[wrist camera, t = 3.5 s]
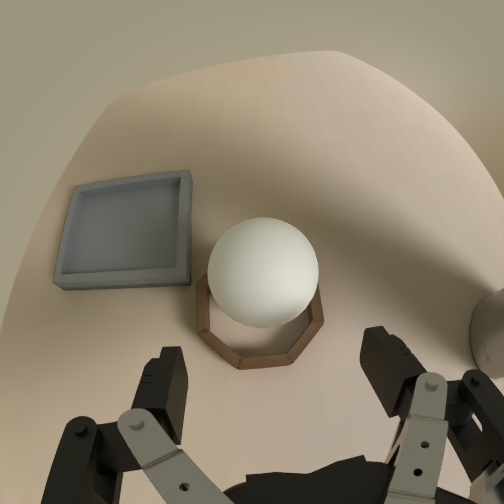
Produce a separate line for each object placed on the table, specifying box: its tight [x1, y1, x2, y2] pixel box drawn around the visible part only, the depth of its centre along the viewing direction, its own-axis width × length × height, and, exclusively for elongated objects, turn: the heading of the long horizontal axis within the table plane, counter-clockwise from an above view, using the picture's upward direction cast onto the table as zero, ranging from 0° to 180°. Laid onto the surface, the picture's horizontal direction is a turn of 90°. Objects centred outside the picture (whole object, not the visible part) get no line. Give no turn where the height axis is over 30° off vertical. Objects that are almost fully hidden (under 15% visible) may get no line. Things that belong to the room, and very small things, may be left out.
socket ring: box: [196, 272, 324, 370], centre depth 23 cm, size 10×10×2 cm
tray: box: [53, 170, 192, 290], centre depth 25 cm, size 13×11×2 cm
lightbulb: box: [207, 217, 319, 328], centre depth 18 cm, size 6×6×11 cm
